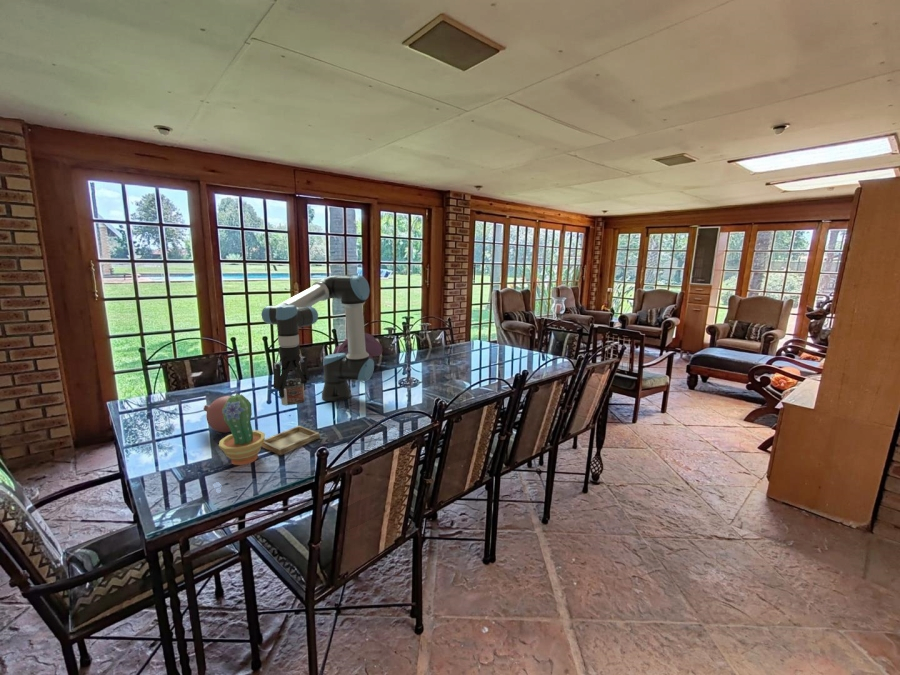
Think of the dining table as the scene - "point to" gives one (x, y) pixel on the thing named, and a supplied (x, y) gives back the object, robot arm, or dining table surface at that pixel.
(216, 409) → the brown rounded piece
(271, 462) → the dining table surface
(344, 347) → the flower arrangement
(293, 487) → the dining table surface
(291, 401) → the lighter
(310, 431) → the tray
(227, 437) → the potted cactus
